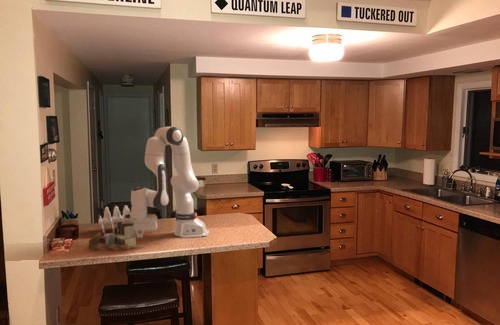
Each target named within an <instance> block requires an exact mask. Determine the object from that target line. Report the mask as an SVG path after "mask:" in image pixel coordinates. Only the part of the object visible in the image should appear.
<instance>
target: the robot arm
mask: <svg viewBox="0 0 500 325" xmlns="http://www.w3.org/2000/svg"><path fill="white" fill-rule="evenodd" d="M152 133H153V134H152V136H151V137H149V138H148V139H147V142H146V145H145V152H144V164H145V166H146V168H148V170H150V171H151V172H153V174H154V175H155V177H156V186H157V187H156V190H152V189H149V188H147V187H145V186H143V185H139V186H135V187H133V188H132V189H131V195H130V204H131V209H130V210H131V211H130V212H127V213H125V214H124V215H123V214H122V215H123V218H124V219H123V220H122V224H133V223H134V225H133V230H135V235H136V238H140V239H141V238H143V237H144V236H143V235H144V233H145V231H156V230H157V229H158V216H157V215H156V213H155V214H154V213H153V214H151V213H149V214H148V207H150V208H155V209H157V210H163V209H164V210H165V208H166V207H168V206H169V203H170V196H169V189H168V187H169V186H168V173H167V167H166V165H165V160H164V159H165V158H164V157H165V148H166V146H168V145H170V148H171V153H172V163H173V168H174V169H175V171H176V174H173V175H172V177H171V178H170V185H171V186H172V189H173V193H174V197H175V207H176V212H175V222H176V223H175V230H174V236H176V237H180V238H182V239H186V238H201V237H202V236H205V237H208V236H209V235H208V234H210V230H209V229H208V228H207V226H206V224H205V222H204V221H202V220H201V219H199V218H198V214H197V212H195V210H194V199H193V196H192V195H191V193H192V194H193V193H195V192H196V191H198V189H199V187H200V183H199V180H198V179H197V177H196V175H195V172H194V169H193V166H192V160H191V154H190V145H189V141H188V139H187V137H186V136H184V133H183V131H182V130H181V128H179V127H176V126H164V127H161V126H160V127H157V128H156V129H155V130H154V132H152ZM139 231H141V233H139ZM202 238H203V237H202Z"/></svg>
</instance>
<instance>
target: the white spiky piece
mask: <svg viewBox="0 0 500 325" xmlns="http://www.w3.org/2000/svg"><path fill="white" fill-rule="evenodd" d="M130 210H131V209H130V208H129V207H128V205H124V207H123V210H122V215H121V211H120V209H119V206H117V205H115V206H114V207H113V213H112V215H111V211H110V210H109V207H108V206H105V208H104V210H103V218H102V216H101V215H99V218H98V225H99V226H101V229H102V230H101V231H102V233H103V234H104V235H105V234H106V233H105V229H106V226H107V225H110V224H111V229H112V233H115V225H116V226H117V223H118V222H121V221H122V220H123V219H124V218H123V215H124V214H125V213H127V212H130Z"/></svg>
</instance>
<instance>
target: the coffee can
mask: <svg viewBox="0 0 500 325" xmlns="http://www.w3.org/2000/svg"><path fill="white" fill-rule="evenodd" d="M133 225H134V223H133V224H122V221H121V222H117V223H116V228H117V229H116V230H117V237H118V243H117V244H127V250H128V249H131V248H134V247H136V246H137V244H136V243H137V242H136V241H137V240H136V238H137V234H136V233H135V230H133Z"/></svg>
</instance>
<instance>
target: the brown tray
mask: <svg viewBox="0 0 500 325" xmlns="http://www.w3.org/2000/svg"><path fill="white" fill-rule="evenodd" d="M106 238H107V237H104V236H102V232H98V233H96V234H95V235H94V236H93V237H91V238H90V239H89V240H88V249H89V252H90V251H93V252H94V251H97V252H98V251H99V252H100V251H106V252H107V251H127V250H128V249H127V244H118V236H115V243H114V244H113V245H106ZM116 243H117V244H116Z"/></svg>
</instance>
